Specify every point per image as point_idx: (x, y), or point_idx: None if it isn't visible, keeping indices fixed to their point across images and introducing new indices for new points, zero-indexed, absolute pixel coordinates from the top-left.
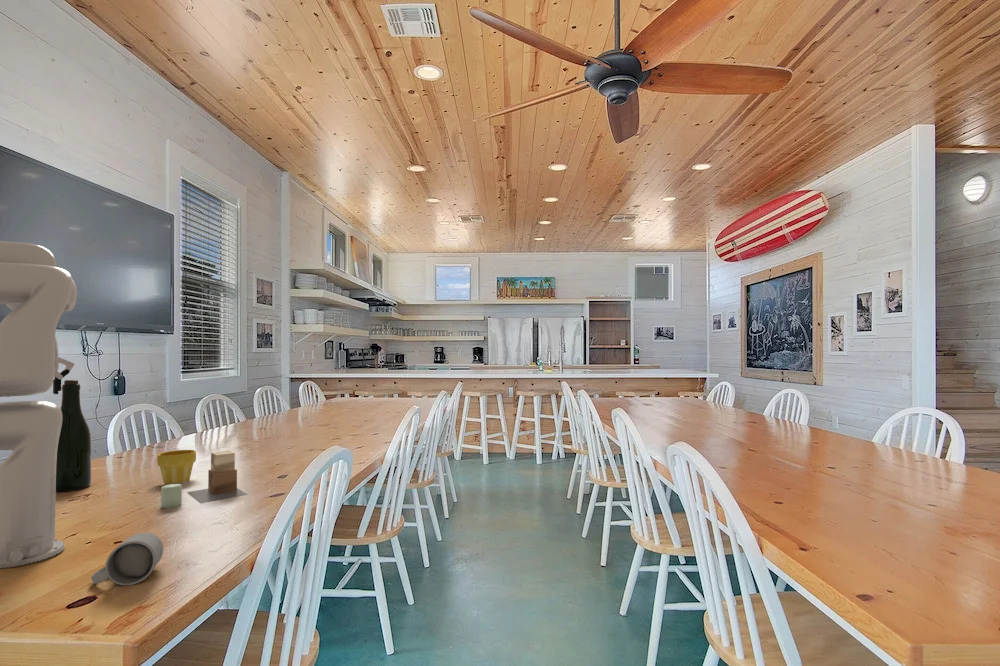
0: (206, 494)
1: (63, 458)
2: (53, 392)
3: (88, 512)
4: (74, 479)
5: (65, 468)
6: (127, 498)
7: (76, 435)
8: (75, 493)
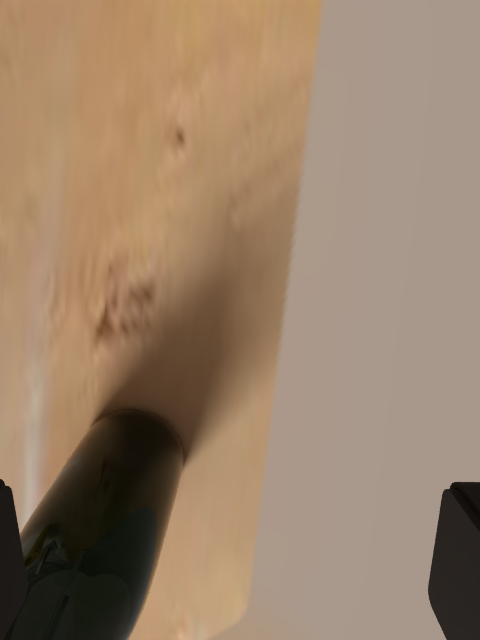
0: None
1: (126, 474)
2: (18, 577)
3: (126, 83)
4: (118, 423)
5: (131, 448)
6: (15, 179)
7: (51, 537)
8: (129, 372)
